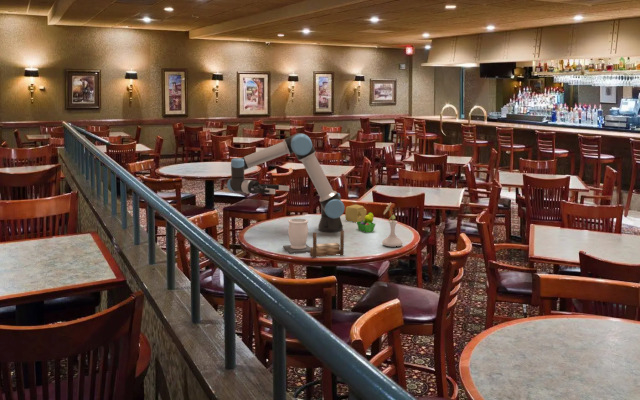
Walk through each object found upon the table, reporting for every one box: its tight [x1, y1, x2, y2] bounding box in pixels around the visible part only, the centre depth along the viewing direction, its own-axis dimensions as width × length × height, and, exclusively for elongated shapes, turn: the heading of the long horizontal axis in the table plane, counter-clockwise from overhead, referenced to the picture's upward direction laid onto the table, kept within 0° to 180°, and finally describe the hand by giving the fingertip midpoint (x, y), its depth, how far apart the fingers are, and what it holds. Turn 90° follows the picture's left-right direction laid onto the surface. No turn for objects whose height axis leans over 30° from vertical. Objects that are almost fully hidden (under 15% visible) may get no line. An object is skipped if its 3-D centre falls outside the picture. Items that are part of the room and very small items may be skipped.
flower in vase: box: [381, 202, 403, 248], centre depth 355 cm, size 13×11×25 cm
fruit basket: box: [356, 212, 376, 233], centre depth 394 cm, size 11×9×11 cm
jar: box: [287, 218, 309, 249], centre depth 346 cm, size 11×10×15 cm
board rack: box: [309, 230, 345, 259], centre depth 335 cm, size 17×7×13 cm, turn 109°
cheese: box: [344, 204, 368, 223], centre depth 424 cm, size 10×11×10 cm
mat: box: [282, 243, 312, 255], centre depth 347 cm, size 13×14×1 cm
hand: (281, 190), depth 358 cm, fingers open, 13 cm apart
